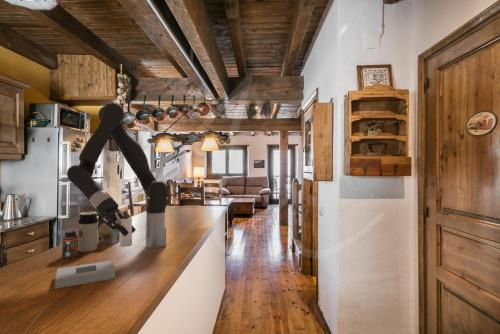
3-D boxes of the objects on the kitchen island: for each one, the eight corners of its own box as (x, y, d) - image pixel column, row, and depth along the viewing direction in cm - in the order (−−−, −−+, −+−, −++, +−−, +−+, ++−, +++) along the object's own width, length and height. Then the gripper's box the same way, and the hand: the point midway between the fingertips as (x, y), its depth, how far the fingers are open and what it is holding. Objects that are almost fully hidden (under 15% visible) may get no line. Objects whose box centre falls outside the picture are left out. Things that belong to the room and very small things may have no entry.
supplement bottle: (70, 259, 123) (70, 233, 123) (58, 258, 124) (59, 232, 124) (81, 255, 129) (81, 230, 129) (69, 254, 130) (70, 229, 130)
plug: (124, 243, 120) (124, 212, 120) (134, 243, 119) (133, 213, 119) (118, 246, 115) (117, 214, 115) (127, 246, 115) (127, 214, 114)
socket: (112, 268, 113) (112, 260, 113) (115, 278, 102) (115, 270, 102) (57, 276, 103) (57, 268, 103) (54, 288, 93) (55, 279, 93)
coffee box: (97, 243, 149) (97, 212, 149) (105, 240, 155) (105, 211, 156) (112, 244, 148) (113, 213, 148) (120, 241, 154) (121, 211, 154)
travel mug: (94, 246, 143) (94, 211, 143) (99, 250, 137) (99, 212, 137) (76, 249, 137) (76, 212, 137) (80, 253, 131) (81, 214, 131)
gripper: (97, 199, 111) (126, 230, 109) (120, 195, 125) (145, 223, 123) (85, 212, 112) (113, 244, 110) (109, 206, 126) (134, 235, 124)
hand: (130, 232), depth 117 cm, fingers closed on plug, 4 cm apart
